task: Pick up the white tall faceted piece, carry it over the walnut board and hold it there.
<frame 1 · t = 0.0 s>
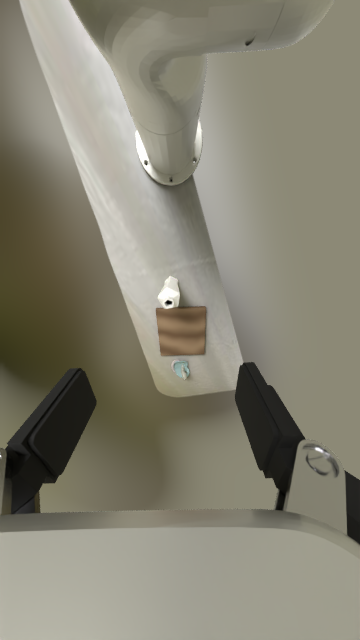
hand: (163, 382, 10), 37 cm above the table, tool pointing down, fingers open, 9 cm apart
white tall faceted piece: (172, 283, 44), on the table
pacifier: (179, 365, 58), on the table
walnut board: (181, 331, 51), on the table
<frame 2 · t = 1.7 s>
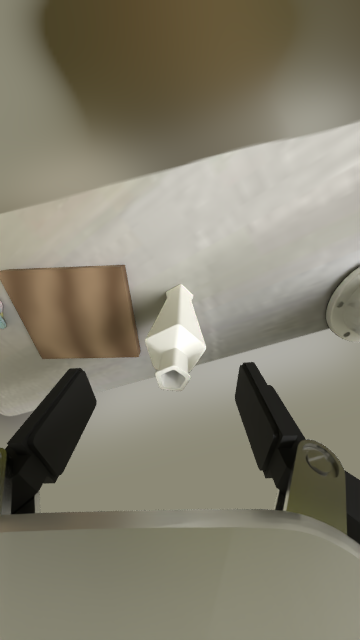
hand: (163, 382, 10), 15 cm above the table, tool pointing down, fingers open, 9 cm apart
white tall faceted piece: (179, 298, 24), on the table
walnut board: (81, 315, 25), on the table
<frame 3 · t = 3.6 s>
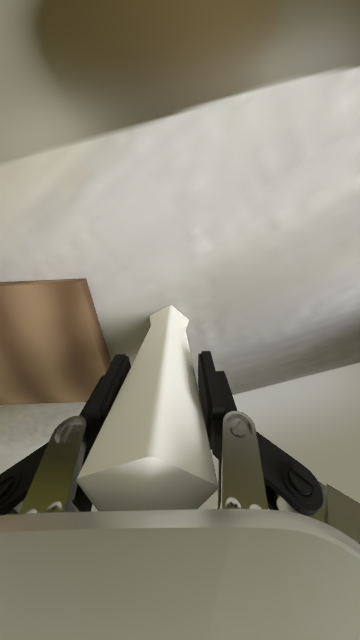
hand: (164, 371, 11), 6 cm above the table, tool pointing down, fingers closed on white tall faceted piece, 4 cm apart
white tall faceted piece: (169, 324, 17), on the table, touching gripper
walnut board: (31, 347, 18), on the table
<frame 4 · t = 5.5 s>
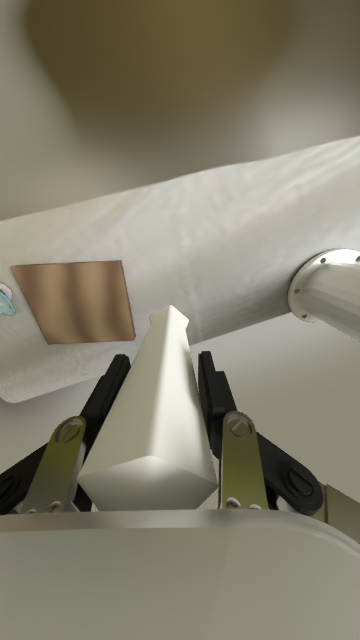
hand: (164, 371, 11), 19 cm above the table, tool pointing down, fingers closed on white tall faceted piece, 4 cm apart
white tall faceted piece: (169, 324, 17), point 13 cm above the table, touching gripper
walnut board: (83, 304, 29), on the table
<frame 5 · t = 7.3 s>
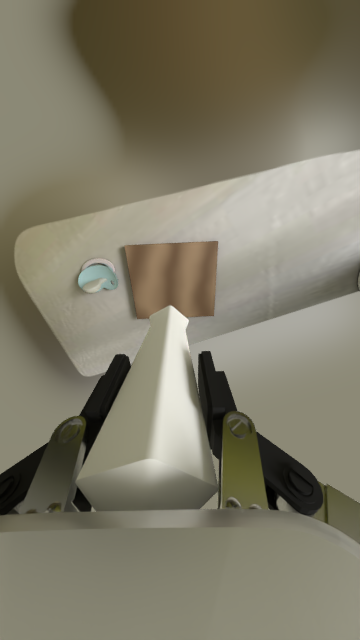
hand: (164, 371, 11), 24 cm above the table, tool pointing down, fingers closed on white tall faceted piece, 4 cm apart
white tall faceted piece: (169, 324, 17), point 18 cm above the table, touching gripper
pacifier: (101, 274, 32), on the table
walnut board: (173, 282, 33), on the table
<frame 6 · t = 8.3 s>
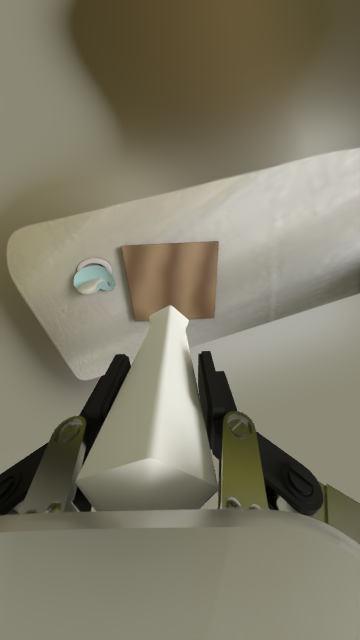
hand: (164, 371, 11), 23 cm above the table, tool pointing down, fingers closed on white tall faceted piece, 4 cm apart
white tall faceted piece: (169, 324, 17), point 17 cm above the table, touching gripper
pacifier: (98, 274, 31), on the table
walnut board: (172, 283, 32), on the table
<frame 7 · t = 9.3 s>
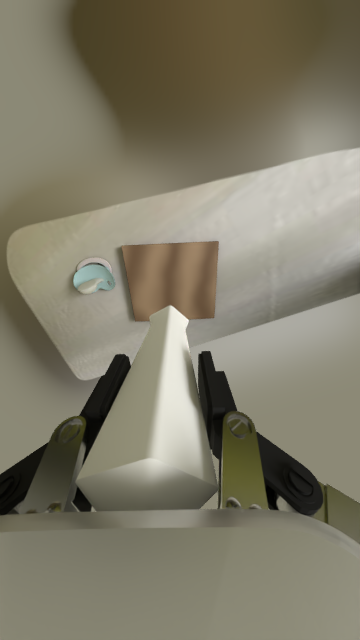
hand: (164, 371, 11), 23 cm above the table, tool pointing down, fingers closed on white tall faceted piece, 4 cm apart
white tall faceted piece: (169, 324, 17), point 17 cm above the table, touching gripper
pacifier: (98, 274, 31), on the table
walnut board: (172, 283, 32), on the table
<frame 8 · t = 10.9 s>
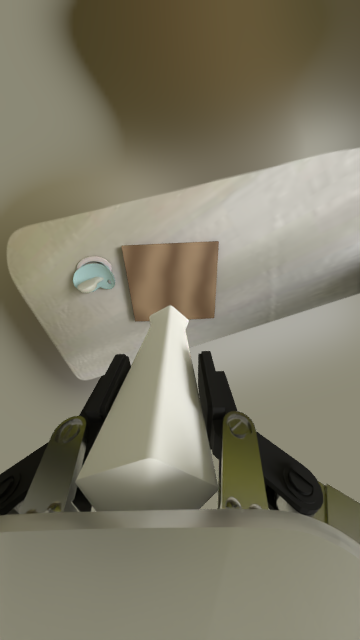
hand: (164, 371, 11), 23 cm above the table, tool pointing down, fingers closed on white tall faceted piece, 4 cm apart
white tall faceted piece: (169, 324, 17), point 17 cm above the table, touching gripper
pacifier: (97, 272, 31), on the table
walnut board: (172, 283, 32), on the table
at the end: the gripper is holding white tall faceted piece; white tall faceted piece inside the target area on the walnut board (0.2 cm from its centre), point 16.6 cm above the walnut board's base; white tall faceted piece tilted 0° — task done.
